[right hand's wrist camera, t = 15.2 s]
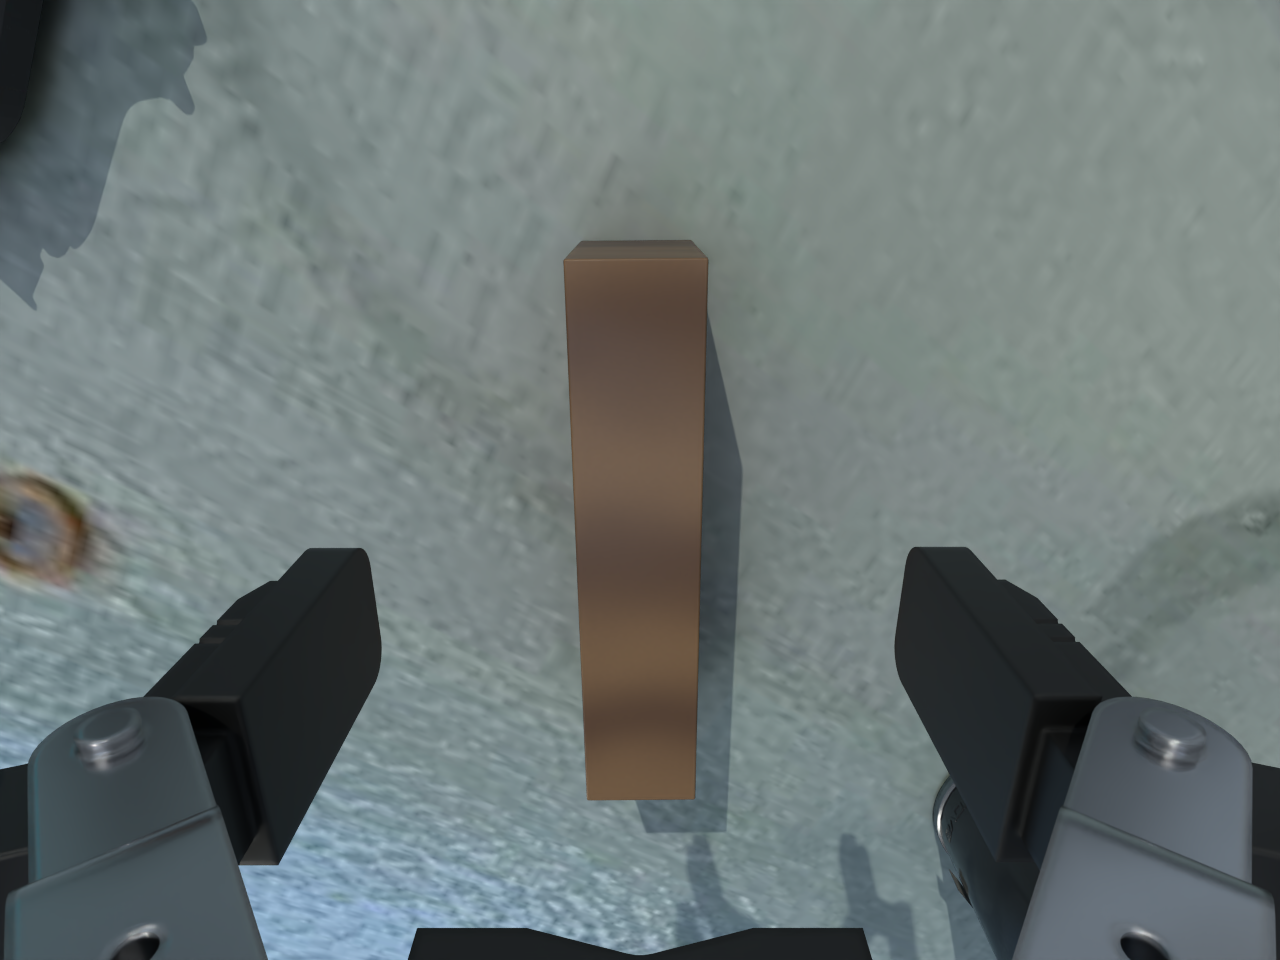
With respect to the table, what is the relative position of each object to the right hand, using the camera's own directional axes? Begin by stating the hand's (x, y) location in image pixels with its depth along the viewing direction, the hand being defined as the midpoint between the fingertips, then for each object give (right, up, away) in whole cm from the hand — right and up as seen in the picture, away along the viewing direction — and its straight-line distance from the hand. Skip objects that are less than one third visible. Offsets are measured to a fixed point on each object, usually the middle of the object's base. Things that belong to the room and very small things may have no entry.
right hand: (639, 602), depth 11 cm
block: (0, +1, +24) cm, 24 cm away
